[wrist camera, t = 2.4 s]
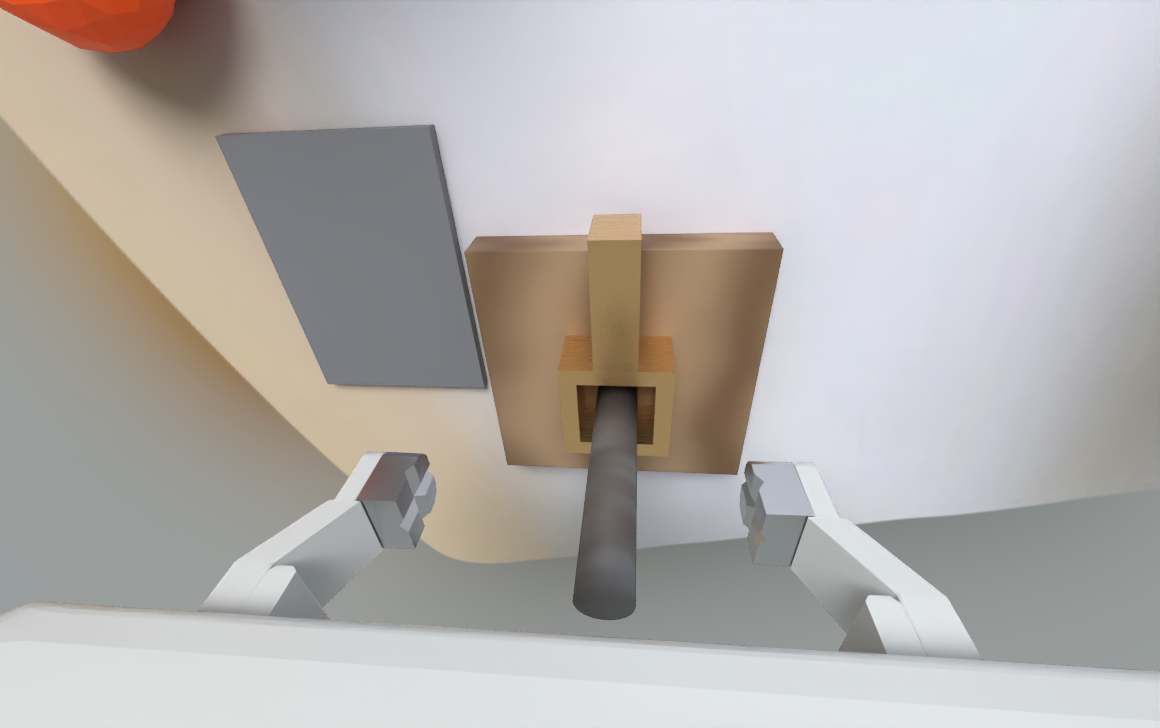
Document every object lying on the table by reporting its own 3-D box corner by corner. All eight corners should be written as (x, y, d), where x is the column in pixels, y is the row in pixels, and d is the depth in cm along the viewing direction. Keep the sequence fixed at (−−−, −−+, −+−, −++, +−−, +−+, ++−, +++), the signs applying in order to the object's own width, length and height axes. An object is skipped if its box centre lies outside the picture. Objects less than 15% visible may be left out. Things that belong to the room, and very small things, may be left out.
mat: (433, 124, 20) (428, 127, 20) (487, 381, 28) (484, 387, 28) (224, 133, 22) (215, 136, 21) (333, 378, 30) (327, 384, 29)
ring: (680, 213, 19) (685, 239, 17) (665, 416, 26) (668, 456, 23) (556, 215, 20) (544, 241, 18) (572, 413, 26) (565, 452, 24)
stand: (772, 232, 21) (920, 459, 10) (731, 450, 30) (789, 712, 18) (476, 236, 23) (318, 435, 12) (514, 442, 31) (441, 678, 20)
